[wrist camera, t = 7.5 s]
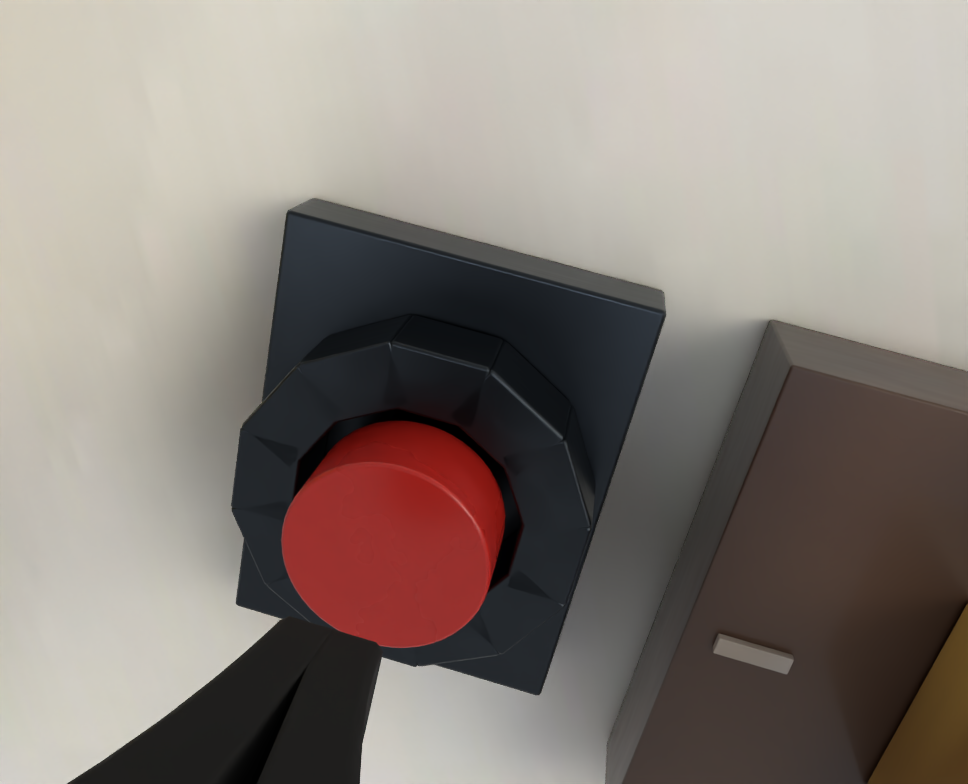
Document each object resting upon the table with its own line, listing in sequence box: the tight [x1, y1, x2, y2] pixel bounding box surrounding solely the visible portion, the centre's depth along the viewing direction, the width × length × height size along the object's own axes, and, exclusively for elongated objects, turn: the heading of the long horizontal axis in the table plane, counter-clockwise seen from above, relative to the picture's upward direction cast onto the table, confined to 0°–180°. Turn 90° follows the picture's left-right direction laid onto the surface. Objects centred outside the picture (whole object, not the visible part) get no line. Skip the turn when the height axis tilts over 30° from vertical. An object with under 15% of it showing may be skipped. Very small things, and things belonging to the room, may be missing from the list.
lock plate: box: [605, 320, 968, 784], centre depth 17 cm, size 10×11×3 cm
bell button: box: [281, 421, 505, 648], centre depth 15 cm, size 4×4×2 cm
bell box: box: [231, 198, 666, 695], centre depth 17 cm, size 9×7×3 cm
